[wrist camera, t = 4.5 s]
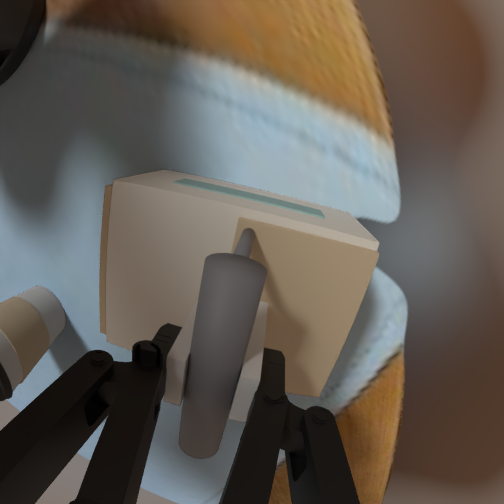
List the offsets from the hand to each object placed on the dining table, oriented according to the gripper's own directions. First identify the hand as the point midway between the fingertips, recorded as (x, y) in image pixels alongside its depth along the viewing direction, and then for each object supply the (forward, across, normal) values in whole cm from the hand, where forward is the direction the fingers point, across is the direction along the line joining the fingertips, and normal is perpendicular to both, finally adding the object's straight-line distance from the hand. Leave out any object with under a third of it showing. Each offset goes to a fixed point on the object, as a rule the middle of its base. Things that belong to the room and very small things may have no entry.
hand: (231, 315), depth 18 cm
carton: (+10, -1, 0) cm, 10 cm away
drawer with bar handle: (+1, +3, 0) cm, 3 cm away
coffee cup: (+10, -23, -14) cm, 29 cm away
